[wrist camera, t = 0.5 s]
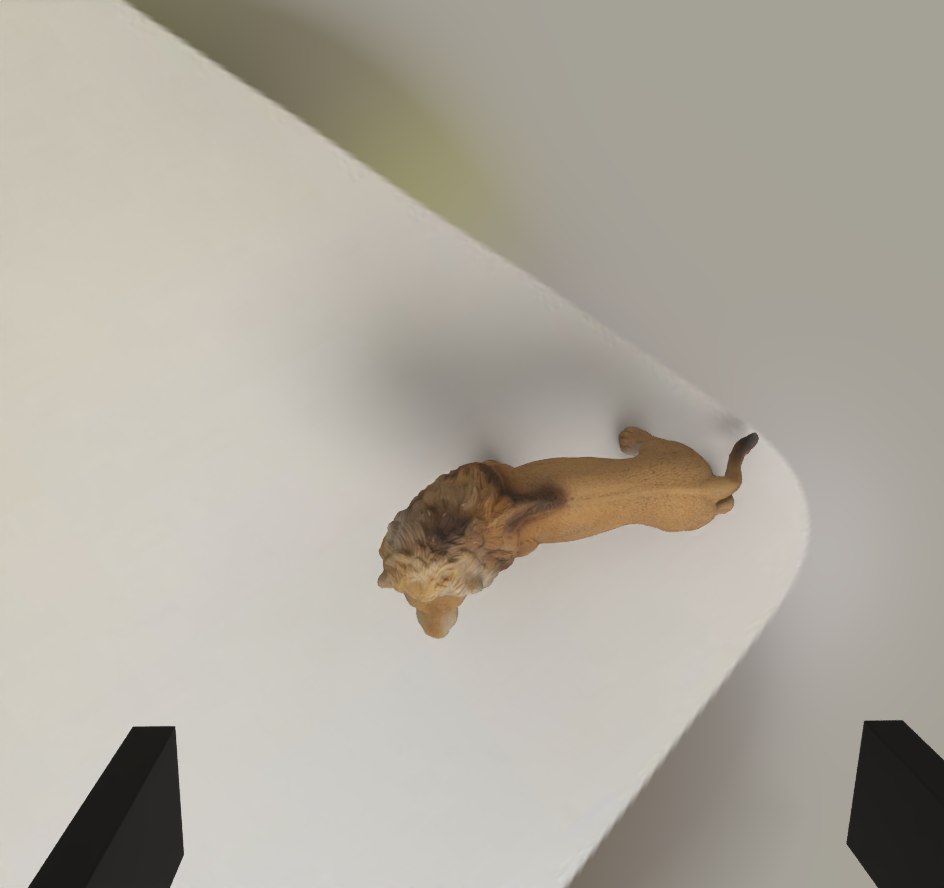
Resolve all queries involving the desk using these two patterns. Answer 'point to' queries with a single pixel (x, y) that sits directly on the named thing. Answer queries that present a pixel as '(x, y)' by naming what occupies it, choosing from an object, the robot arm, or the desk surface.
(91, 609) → the desk surface
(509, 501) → the lion figurine
